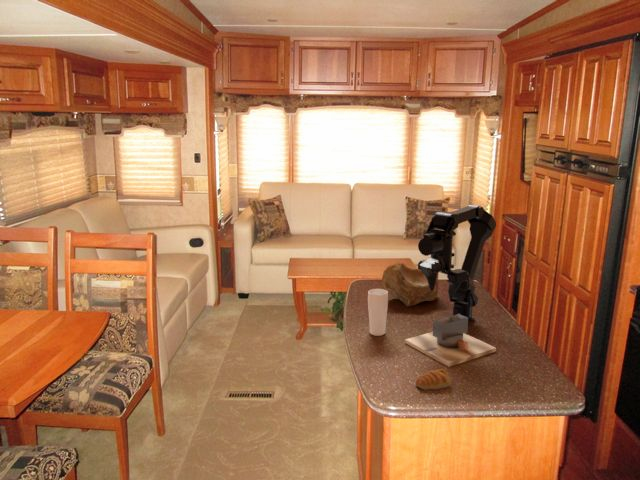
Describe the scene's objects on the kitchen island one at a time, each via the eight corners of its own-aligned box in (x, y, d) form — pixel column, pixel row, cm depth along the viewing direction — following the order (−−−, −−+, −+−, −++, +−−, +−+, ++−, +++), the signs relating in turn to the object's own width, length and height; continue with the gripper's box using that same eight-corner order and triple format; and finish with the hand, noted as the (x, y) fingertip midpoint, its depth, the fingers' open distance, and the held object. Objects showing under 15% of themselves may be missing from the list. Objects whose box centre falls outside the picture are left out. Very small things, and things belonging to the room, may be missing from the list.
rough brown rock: (388, 312, 202) (391, 275, 197) (378, 294, 217) (381, 260, 213) (447, 310, 205) (451, 275, 200) (433, 293, 220) (437, 259, 216)
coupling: (428, 342, 169) (429, 318, 167) (453, 334, 175) (454, 312, 173) (452, 354, 160) (454, 330, 158) (478, 346, 165) (480, 322, 164)
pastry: (425, 394, 141) (425, 381, 140) (410, 383, 147) (410, 371, 146) (453, 386, 145) (453, 373, 144) (437, 376, 151) (438, 364, 150)
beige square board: (450, 330, 182) (450, 326, 182) (495, 351, 166) (496, 347, 165) (405, 342, 172) (405, 338, 172) (448, 367, 156) (449, 362, 155)
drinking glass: (389, 330, 182) (390, 289, 179) (385, 338, 176) (385, 295, 172) (370, 328, 184) (370, 287, 181) (365, 336, 178) (365, 293, 175)
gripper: (406, 247, 180) (405, 291, 183) (445, 259, 164) (443, 307, 168) (430, 243, 185) (429, 285, 189) (470, 254, 170) (468, 300, 173)
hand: (441, 294), depth 179 cm, fingers open, 9 cm apart
